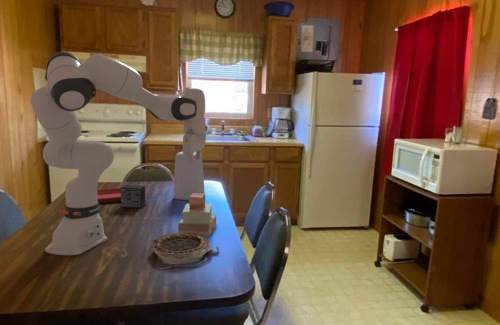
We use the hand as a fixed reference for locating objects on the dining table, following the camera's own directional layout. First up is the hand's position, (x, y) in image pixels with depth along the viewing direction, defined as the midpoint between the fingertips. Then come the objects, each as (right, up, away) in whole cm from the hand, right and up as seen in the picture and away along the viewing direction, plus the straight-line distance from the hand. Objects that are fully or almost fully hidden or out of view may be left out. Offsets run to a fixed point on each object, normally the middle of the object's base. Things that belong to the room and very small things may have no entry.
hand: (194, 161), depth 151 cm
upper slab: (+1, -25, +4) cm, 25 cm away
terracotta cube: (+1, -20, +3) cm, 20 cm away
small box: (-36, -23, +33) cm, 54 cm away
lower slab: (+1, -30, +5) cm, 30 cm away
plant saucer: (-52, -20, +45) cm, 72 cm away
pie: (-2, -34, -17) cm, 38 cm away
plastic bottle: (-11, -20, +51) cm, 56 cm away
